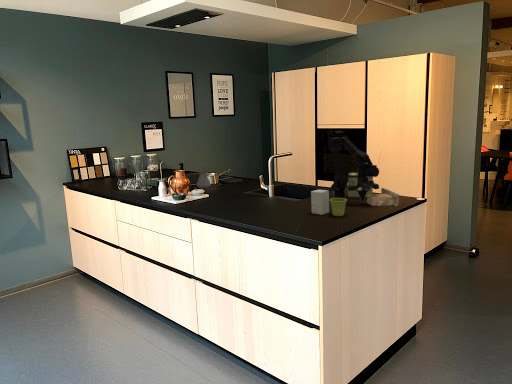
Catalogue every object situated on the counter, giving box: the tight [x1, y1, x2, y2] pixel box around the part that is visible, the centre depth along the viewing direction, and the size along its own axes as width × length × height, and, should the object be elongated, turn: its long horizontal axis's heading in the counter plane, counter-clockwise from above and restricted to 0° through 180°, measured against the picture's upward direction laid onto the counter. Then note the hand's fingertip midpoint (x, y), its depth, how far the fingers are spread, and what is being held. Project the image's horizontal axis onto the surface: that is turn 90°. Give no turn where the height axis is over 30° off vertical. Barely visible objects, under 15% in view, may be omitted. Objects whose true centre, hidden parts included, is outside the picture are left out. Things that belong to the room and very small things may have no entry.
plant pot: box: [329, 197, 348, 217], centre depth 228 cm, size 9×9×9 cm
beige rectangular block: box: [366, 193, 392, 207], centre depth 251 cm, size 12×9×5 cm
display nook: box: [376, 187, 400, 207], centre depth 253 cm, size 11×22×7 cm, turn 6°
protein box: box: [347, 172, 374, 200], centre depth 271 cm, size 10×16×16 cm
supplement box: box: [310, 189, 330, 216], centre depth 235 cm, size 7×7×13 cm
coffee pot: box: [196, 170, 214, 190], centre depth 331 cm, size 21×12×15 cm, turn 38°
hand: (362, 201), depth 252 cm, fingers closed
